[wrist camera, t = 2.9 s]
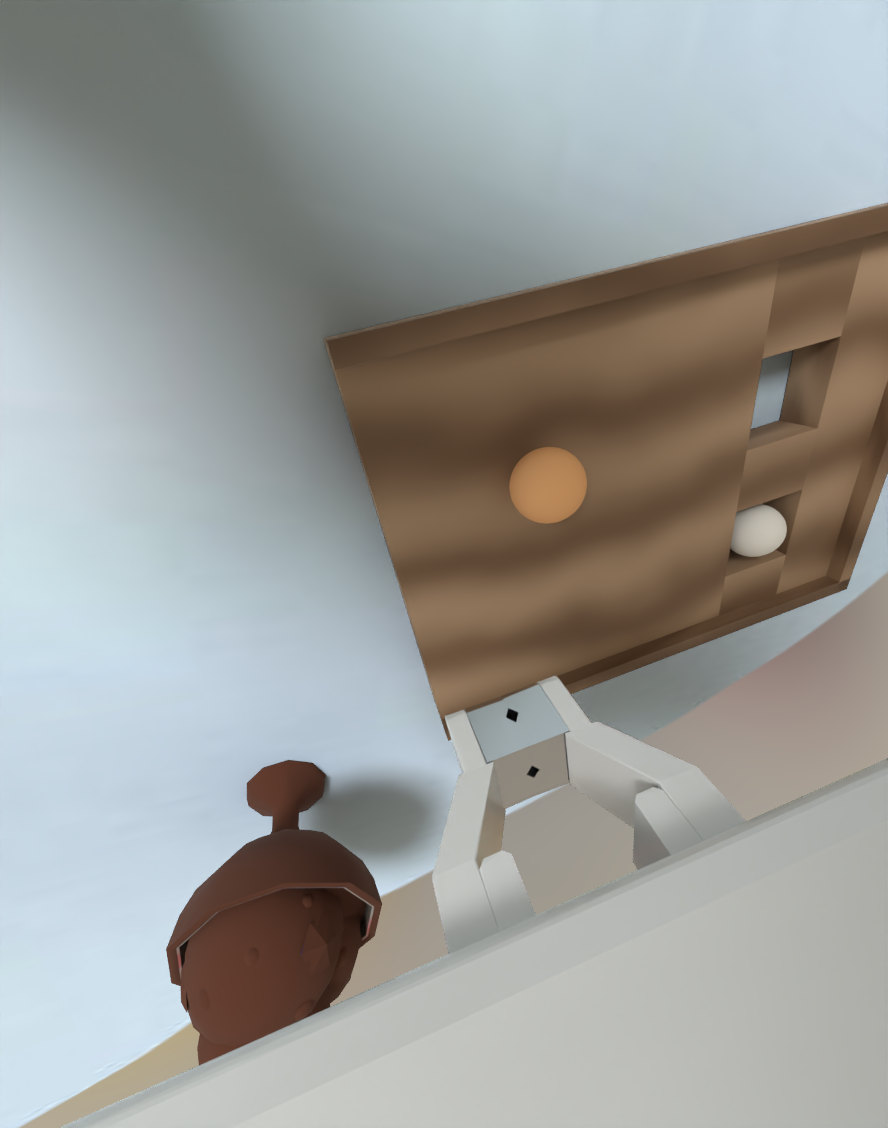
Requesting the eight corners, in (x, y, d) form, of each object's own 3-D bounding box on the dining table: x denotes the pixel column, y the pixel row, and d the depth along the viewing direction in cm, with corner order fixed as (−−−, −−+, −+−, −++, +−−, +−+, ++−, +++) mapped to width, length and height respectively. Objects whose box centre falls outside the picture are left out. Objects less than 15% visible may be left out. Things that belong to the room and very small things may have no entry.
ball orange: (493, 450, 21) (525, 471, 18) (560, 430, 22) (602, 448, 19) (502, 516, 23) (532, 545, 20) (564, 496, 24) (603, 522, 21)
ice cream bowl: (376, 804, 35) (416, 1071, 23) (232, 852, 33) (189, 1173, 21) (347, 714, 30) (378, 999, 17) (173, 765, 28) (67, 1128, 15)
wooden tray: (323, 338, 19) (326, 341, 16) (904, 198, 24) (990, 180, 21) (435, 701, 32) (448, 740, 29) (802, 567, 36) (846, 588, 33)
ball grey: (713, 505, 30) (758, 525, 27) (757, 490, 31) (807, 508, 28) (706, 549, 32) (749, 572, 29) (748, 534, 33) (794, 556, 30)
